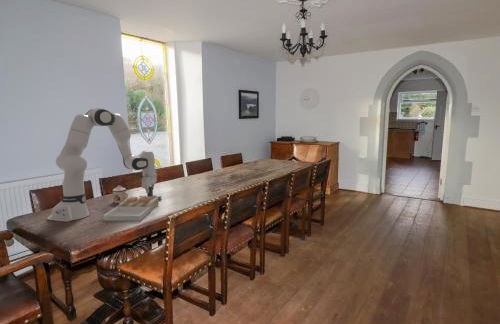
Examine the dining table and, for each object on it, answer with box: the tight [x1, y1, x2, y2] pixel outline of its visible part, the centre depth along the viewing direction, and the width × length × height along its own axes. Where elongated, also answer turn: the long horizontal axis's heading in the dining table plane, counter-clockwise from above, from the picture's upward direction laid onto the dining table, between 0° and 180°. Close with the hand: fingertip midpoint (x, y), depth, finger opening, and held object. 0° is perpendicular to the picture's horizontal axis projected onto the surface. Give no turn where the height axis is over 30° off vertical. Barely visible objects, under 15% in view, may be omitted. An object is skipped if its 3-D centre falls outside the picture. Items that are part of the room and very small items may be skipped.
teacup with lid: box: [112, 185, 129, 204], centre depth 212 cm, size 12×9×12 cm
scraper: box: [138, 186, 163, 201], centre depth 217 cm, size 16×3×10 cm, turn 88°
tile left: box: [127, 196, 138, 202], centre depth 197 cm, size 5×5×2 cm
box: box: [102, 205, 152, 222], centre depth 182 cm, size 22×17×4 cm
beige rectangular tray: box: [118, 196, 160, 211], centre depth 199 cm, size 20×17×5 cm
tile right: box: [139, 197, 149, 202], centre depth 196 cm, size 5×5×2 cm
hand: (150, 191), depth 217 cm, fingers open, 8 cm apart
